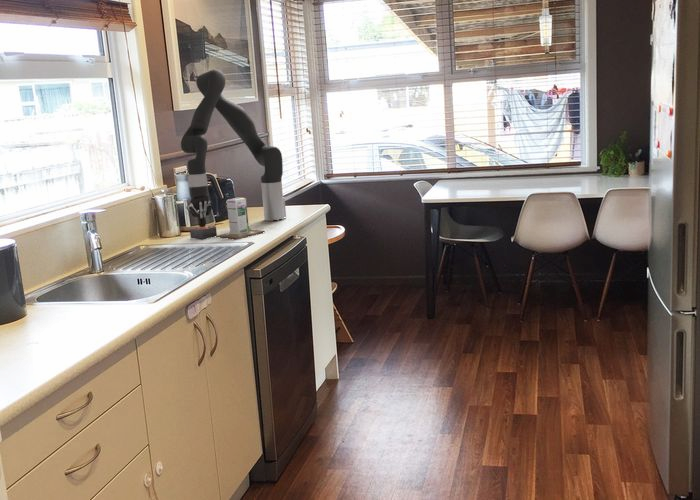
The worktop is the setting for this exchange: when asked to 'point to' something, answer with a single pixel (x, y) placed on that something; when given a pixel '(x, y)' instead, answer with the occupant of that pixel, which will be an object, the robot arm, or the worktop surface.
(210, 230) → the button housing
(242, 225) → the syrup box
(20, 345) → the worktop surface
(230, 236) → the board
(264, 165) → the robot arm
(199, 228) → the button
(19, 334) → the worktop surface
